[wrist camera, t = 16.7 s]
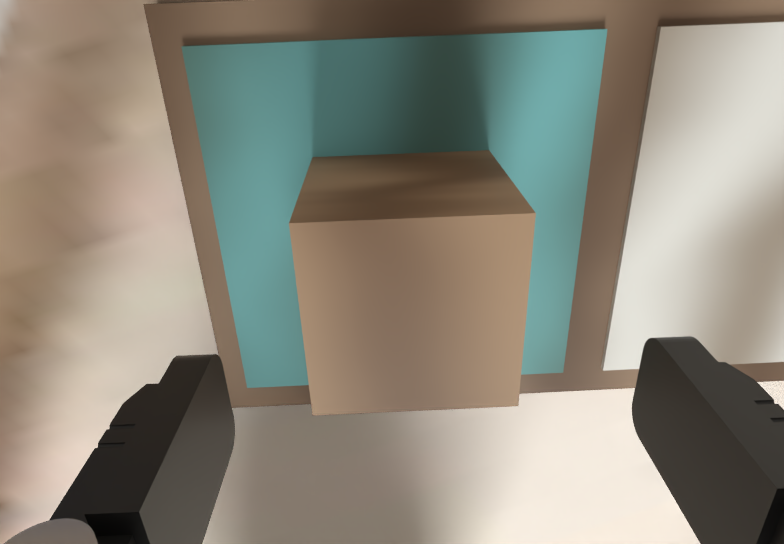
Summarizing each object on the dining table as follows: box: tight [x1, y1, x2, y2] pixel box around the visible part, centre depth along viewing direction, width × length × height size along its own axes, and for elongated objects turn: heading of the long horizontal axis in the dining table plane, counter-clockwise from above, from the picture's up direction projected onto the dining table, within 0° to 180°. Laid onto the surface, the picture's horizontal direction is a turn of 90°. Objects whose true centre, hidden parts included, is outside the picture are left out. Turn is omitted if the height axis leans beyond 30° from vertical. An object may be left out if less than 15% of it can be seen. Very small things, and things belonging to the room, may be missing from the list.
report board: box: [144, 0, 784, 408], centre depth 17 cm, size 25×13×1 cm, turn 92°
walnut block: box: [289, 150, 536, 415], centre depth 15 cm, size 5×5×5 cm
